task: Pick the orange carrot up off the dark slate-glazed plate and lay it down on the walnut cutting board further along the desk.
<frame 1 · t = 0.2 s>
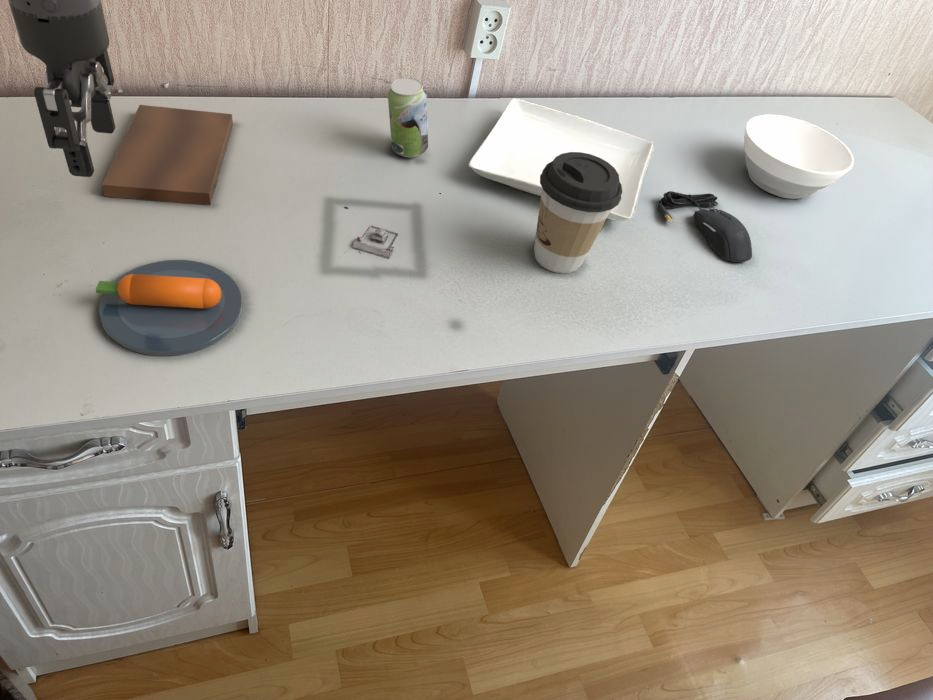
hand: (94, 152, 76), 17 cm above the table, tool pointing down, fingers open, 8 cm apart
bowl: (776, 183, 131), on the table
computer mouse: (699, 231, 116), on the table
slate plate: (173, 307, 85), on the table
beverage can: (405, 152, 118), on the table
coffee cup: (557, 258, 104), on the table
cutting board: (174, 158, 106), on the table
square plate: (561, 171, 121), on the table
carrot: (172, 302, 85), point 1 cm above the table, touching slate plate
metal mounting bracket: (387, 261, 98), on the table
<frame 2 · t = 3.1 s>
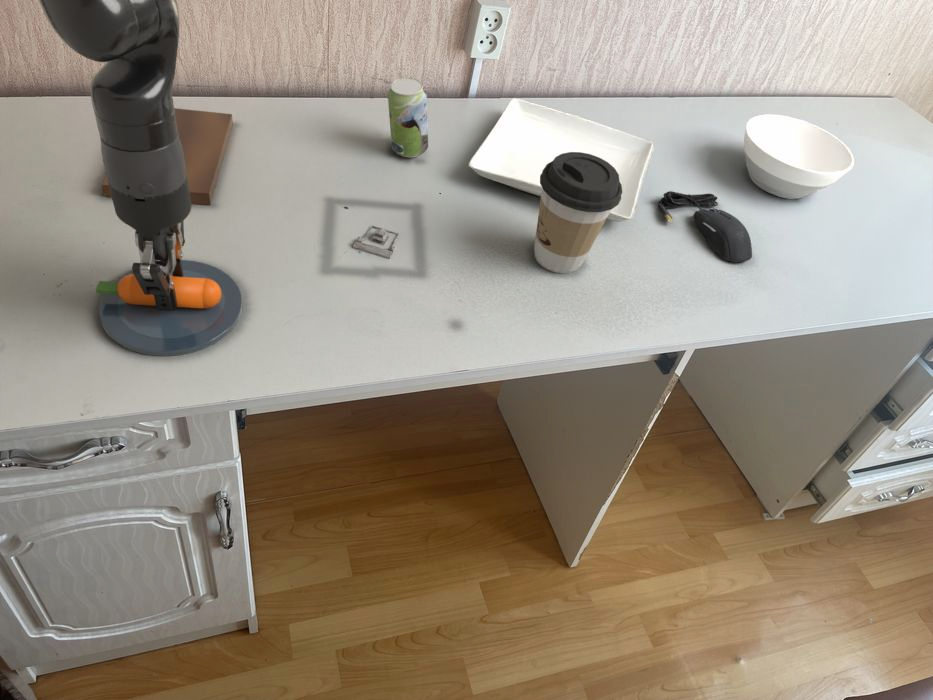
hand: (171, 296, 84), 2 cm above the table, tool pointing down, fingers closed on carrot, 3 cm apart
carrot: (172, 302, 85), point 1 cm above the table, touching gripper, slate plate
everything else where it was.
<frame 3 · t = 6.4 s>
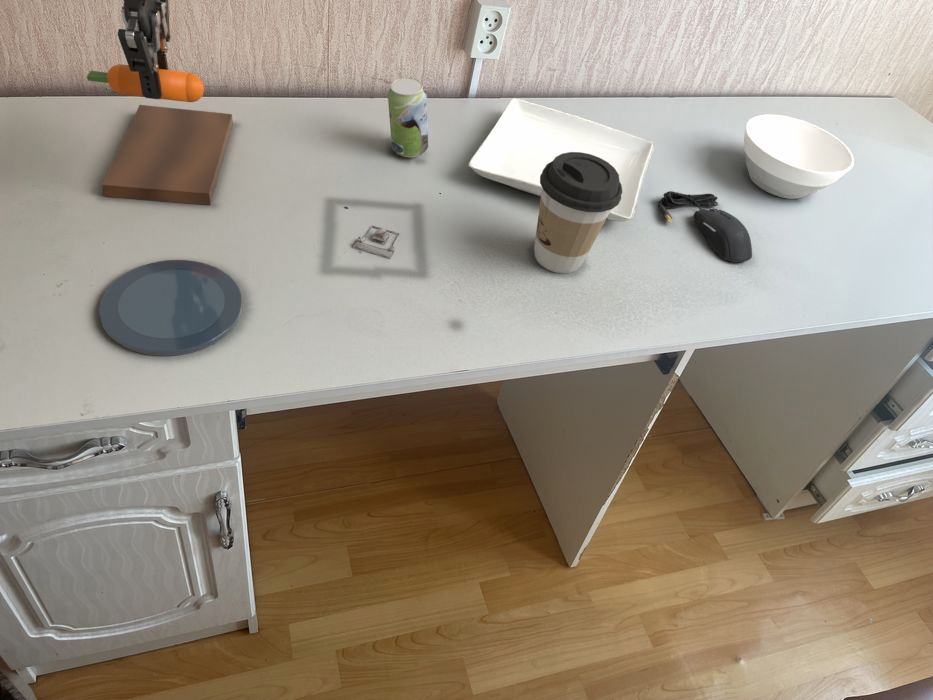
hand: (156, 88, 90), 15 cm above the table, tool pointing down, fingers closed on carrot, 3 cm apart
carrot: (158, 96, 91), point 14 cm above the table, touching gripper
everything else where it was.
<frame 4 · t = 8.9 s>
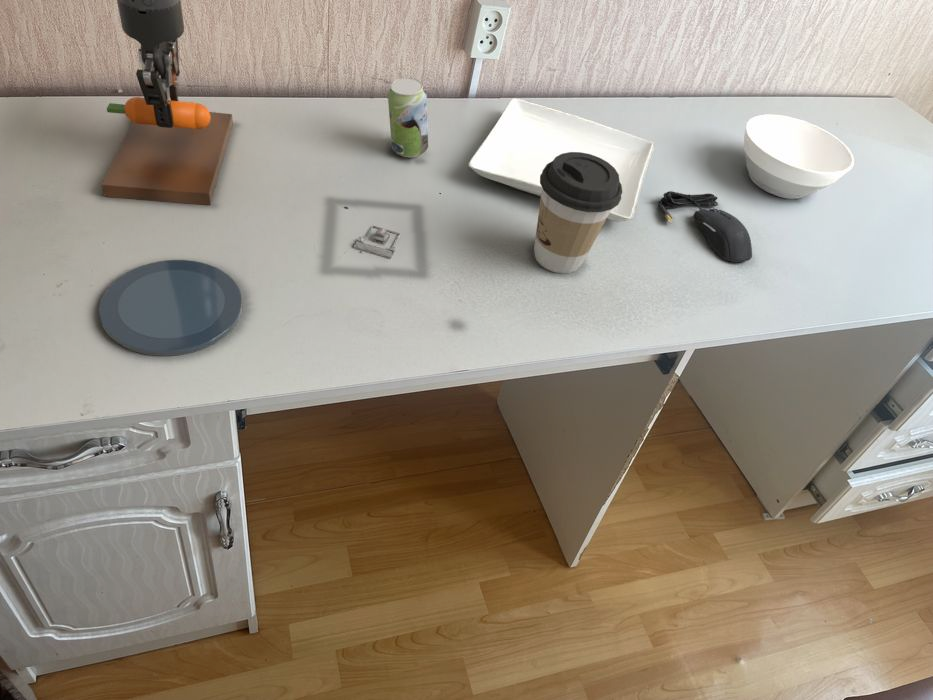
hand: (168, 118, 101), 7 cm above the table, tool pointing down, fingers closed on carrot, 3 cm apart
carrot: (169, 124, 102), point 5 cm above the table, touching gripper
everything else where it was.
when the fingers open (3 cm above the table, at t = 10.2 s): carrot stays where it is, resting on cutting board.
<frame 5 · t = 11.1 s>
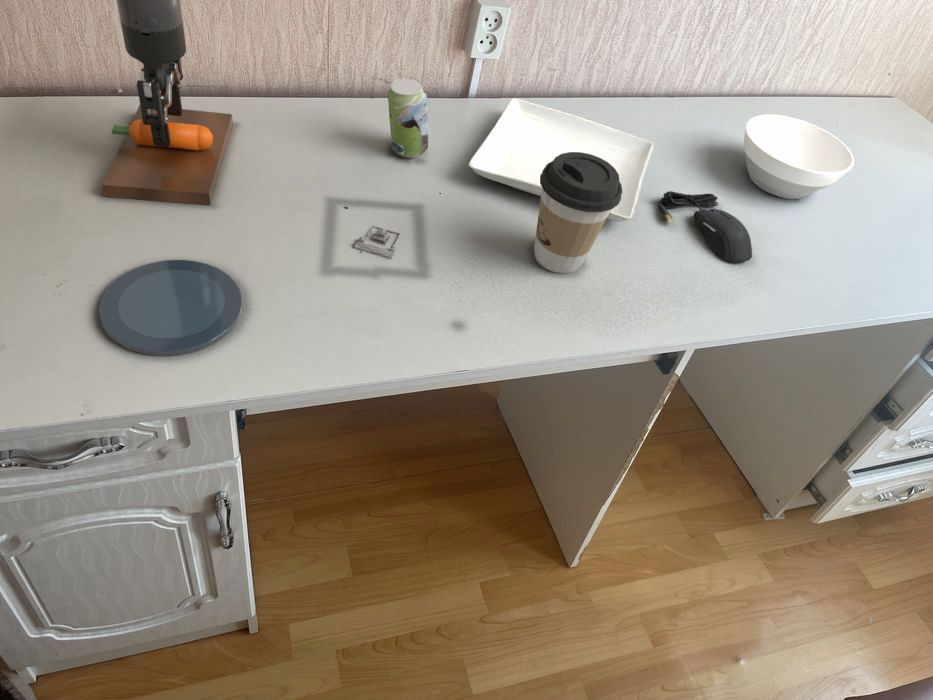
hand: (168, 129, 103), 5 cm above the table, tool pointing down, fingers open, 8 cm apart
carrot: (173, 146, 105), point 2 cm above the table, touching cutting board
everything else where it was.
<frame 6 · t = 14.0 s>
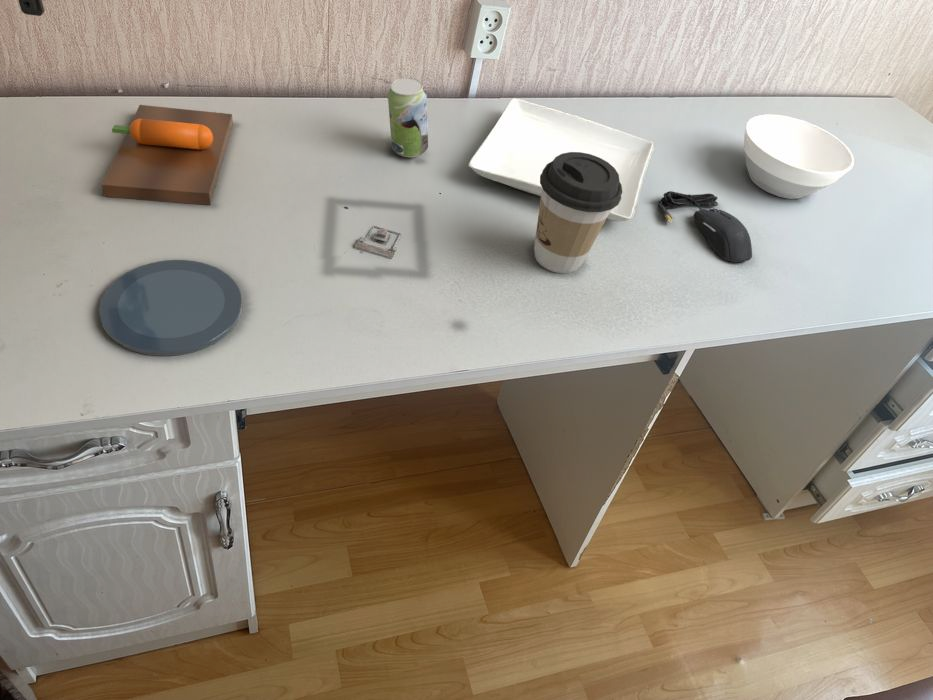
carrot: (173, 146, 105), point 2 cm above the table, tilted 10°, touching cutting board
everything else where it was.
at the end: carrot inside the target area on the cutting board (0.1 cm from its centre), point 2.0 cm above the cutting board's base; carrot touching cutting board; the gripper is holding nothing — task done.
